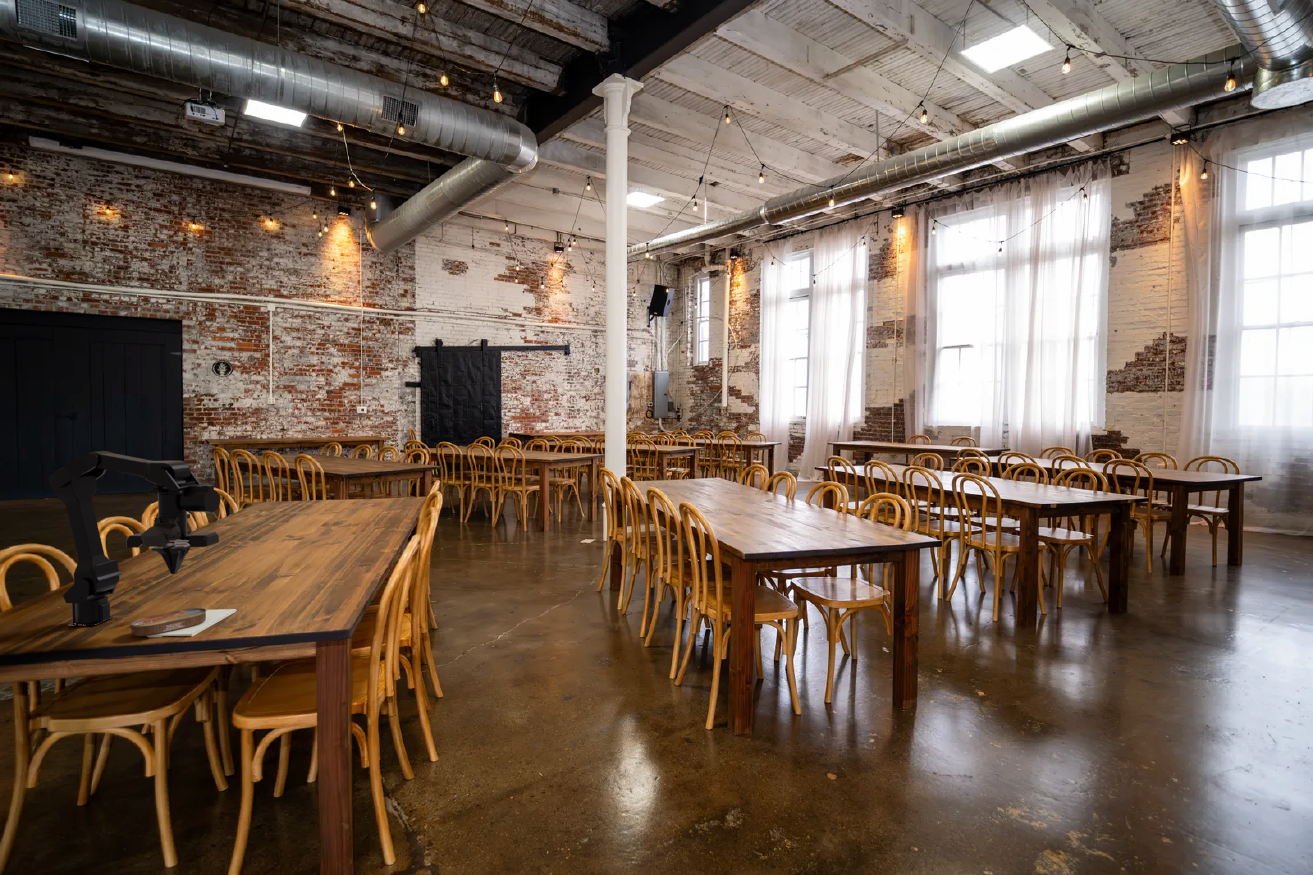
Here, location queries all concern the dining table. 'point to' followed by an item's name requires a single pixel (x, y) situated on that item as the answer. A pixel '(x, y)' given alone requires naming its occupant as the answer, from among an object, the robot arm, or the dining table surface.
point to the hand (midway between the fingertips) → (174, 573)
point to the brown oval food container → (168, 622)
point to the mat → (211, 618)
